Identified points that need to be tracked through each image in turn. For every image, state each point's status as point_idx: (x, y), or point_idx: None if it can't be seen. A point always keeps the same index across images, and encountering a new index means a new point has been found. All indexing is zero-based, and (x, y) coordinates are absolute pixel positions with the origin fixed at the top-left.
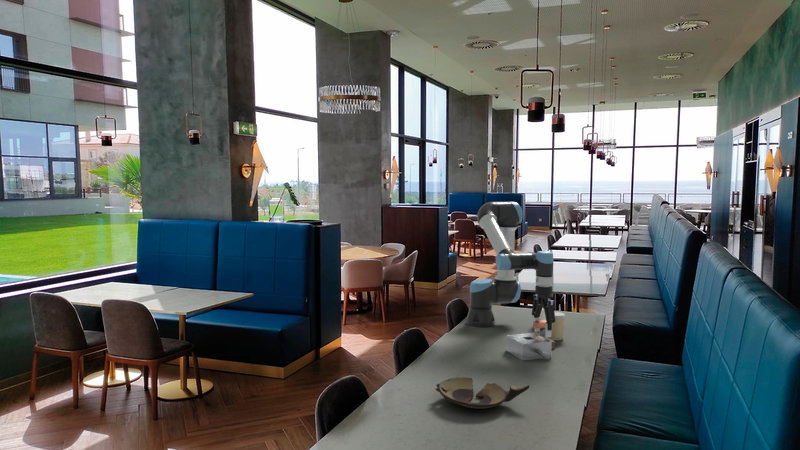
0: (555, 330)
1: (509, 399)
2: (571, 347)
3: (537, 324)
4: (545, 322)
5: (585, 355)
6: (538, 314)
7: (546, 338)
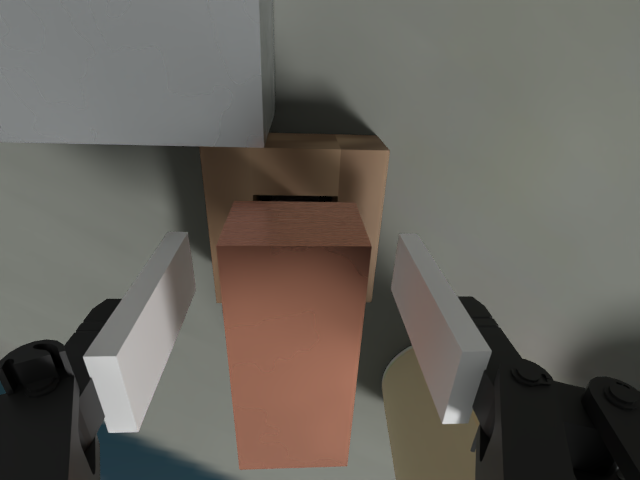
0: (405, 419)
1: None
2: (218, 370)
3: (221, 235)
4: (58, 352)
5: None
6: (483, 457)
7: None
